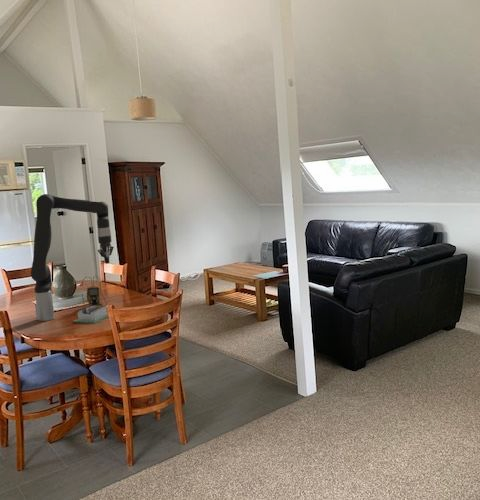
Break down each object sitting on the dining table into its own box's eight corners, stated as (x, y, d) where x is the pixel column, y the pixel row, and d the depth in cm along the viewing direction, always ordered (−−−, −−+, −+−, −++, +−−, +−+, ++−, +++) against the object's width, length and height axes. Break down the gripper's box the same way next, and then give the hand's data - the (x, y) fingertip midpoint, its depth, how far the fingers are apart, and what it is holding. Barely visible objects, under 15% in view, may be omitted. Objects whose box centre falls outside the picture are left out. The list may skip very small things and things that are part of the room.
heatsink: (72, 321, 291) (71, 309, 289) (93, 312, 308) (92, 301, 307) (95, 323, 285) (94, 311, 284) (115, 314, 302) (113, 302, 301)
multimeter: (82, 310, 314) (78, 280, 311) (83, 306, 324) (80, 276, 320) (105, 308, 317) (102, 277, 314) (106, 304, 326) (103, 274, 323)
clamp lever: (89, 313, 289) (89, 310, 289) (84, 312, 291) (84, 310, 290) (101, 308, 300) (101, 305, 300) (97, 307, 301) (96, 305, 301)
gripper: (105, 233, 306) (108, 261, 308) (92, 236, 293) (95, 265, 296) (116, 233, 303) (118, 261, 306) (102, 236, 291) (105, 265, 294)
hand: (107, 263), depth 301 cm, fingers closed
